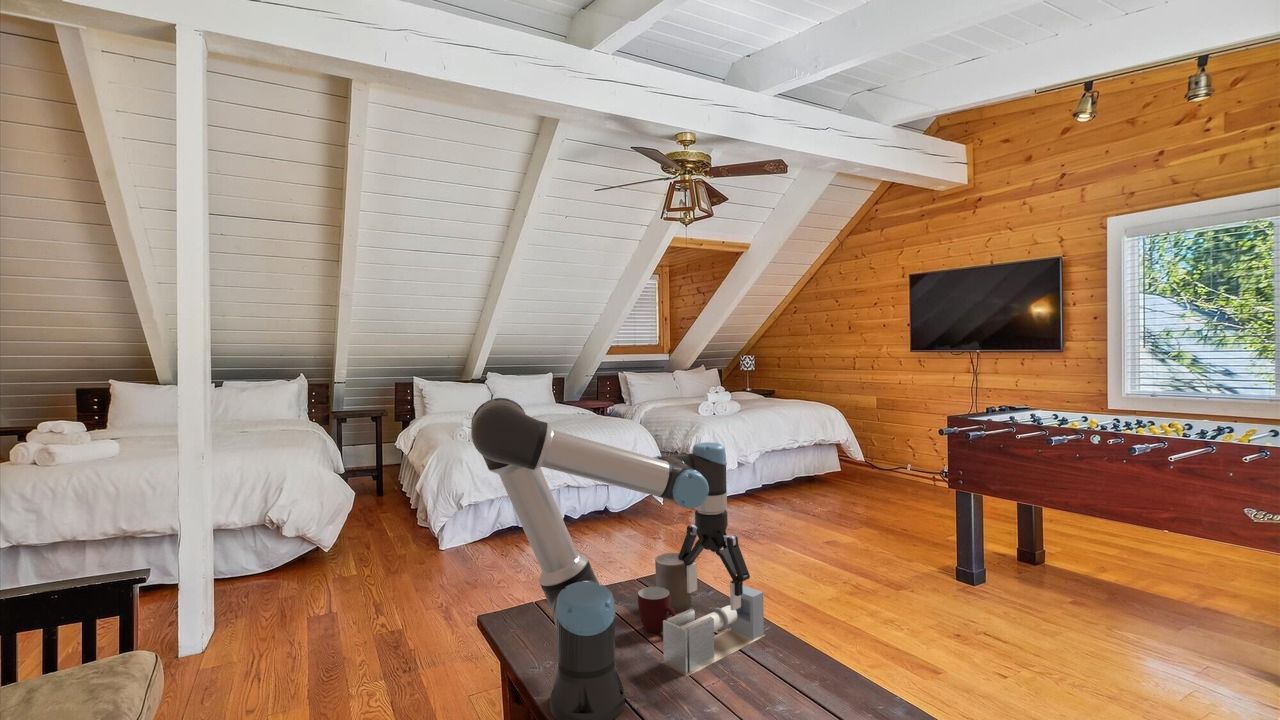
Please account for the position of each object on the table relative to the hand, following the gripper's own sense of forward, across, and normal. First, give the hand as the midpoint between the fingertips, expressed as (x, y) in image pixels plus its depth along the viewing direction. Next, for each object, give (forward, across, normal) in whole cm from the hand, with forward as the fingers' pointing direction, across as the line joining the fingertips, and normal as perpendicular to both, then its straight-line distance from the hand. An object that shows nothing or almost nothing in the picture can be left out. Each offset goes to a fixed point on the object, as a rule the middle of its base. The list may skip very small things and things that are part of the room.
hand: (713, 599), depth 153 cm
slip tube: (+8, 0, +3) cm, 8 cm away
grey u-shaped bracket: (+12, 0, +8) cm, 14 cm away
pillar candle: (+13, +24, -10) cm, 29 cm away
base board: (+13, 0, 0) cm, 13 cm away
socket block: (+12, 0, -12) cm, 17 cm away
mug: (+13, +16, +3) cm, 21 cm away
